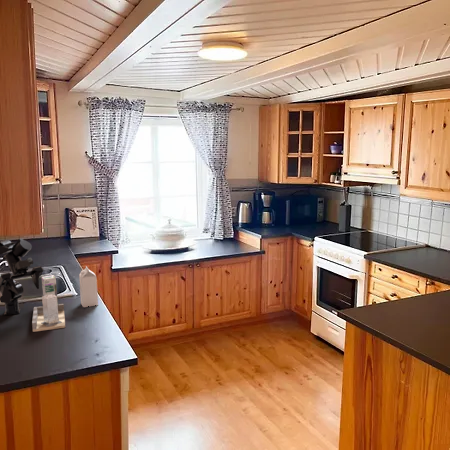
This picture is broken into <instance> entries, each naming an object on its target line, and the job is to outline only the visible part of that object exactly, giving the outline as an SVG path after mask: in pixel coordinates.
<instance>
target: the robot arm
mask: <svg viewBox="0 0 450 450" xmlns="http://www.w3.org/2000/svg"><path fill="white" fill-rule="evenodd" d="M32 248H33V246H32V243H30V242H29V241H27V240H25V239H23V237H22V238H18V239H17V240H16V242H13V241H11V240H10V239H4V240H2V241H0V255H3V257H2V261H3V262H7V264H8V267H9V271H10V272H7V273H6V272H5V273H3V274H0V294H1V296H0V303H2V304H3V303H4V307H5V308H4V309H5V311H4V314H3V315H4V316H9V315H10V316H11V315H17V314H20V313H21V308H20V307H19V299H21V298H22V296H23V293H24V286H23V285H22V284H20V282H19V281H15V280H17V279H21V278H26V277H31V278H32V279H31V280H32V283H33V284H34V286H35V288H36V289H37V290H39V289H40V282H39V280H40V277H42V274H43V272H44V268H43V267H42V266H35V267H32V269H31V270H29V267H31V266H32V265H34V260H33V259H32V257H28V258H26V259H23V260H22V258H23V257H25V256H26V255H27V254H28V253H29V251H31V250H32ZM11 273H12V274H11Z"/></svg>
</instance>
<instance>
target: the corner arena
mask: <svg viewBox="0 0 450 450" xmlns="http://www.w3.org/2000/svg"><path fill="white" fill-rule="evenodd" d="M58 317H59V322H58V323H55V324H51V325H48V324H46V323H44V315H43V305H41V306H34V307H33V313H32V321H31V326H32V332H41V331H48V330H57V329H64V328H66V317H65V304H64V303H58Z"/></svg>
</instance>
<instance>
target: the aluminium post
mask: <svg viewBox="0 0 450 450" xmlns="http://www.w3.org/2000/svg"><path fill="white" fill-rule="evenodd" d="M41 301H42V306H43V315H44V323H46V324H48V325H51V324H55V323H58V322H59V317H58V304H59V303H58V304H57V301H58V295H57V296H55V295H53V294H50V295H46V296H43V295H42V296H41Z"/></svg>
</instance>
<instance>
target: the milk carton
mask: <svg viewBox="0 0 450 450" xmlns="http://www.w3.org/2000/svg"><path fill="white" fill-rule="evenodd" d="M78 277H79V291H80V292H79V293H80V304H81V305H82V308H88V306H89V307H95V305H96V306H98V305H99V298H98V284H97V283H98V281H97V275H96V274H95V272H93V271H92V270H90V269H89V268H88V266H87V265H85V268H84V269H82V270H81V271H80V273H79V275H78Z"/></svg>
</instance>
